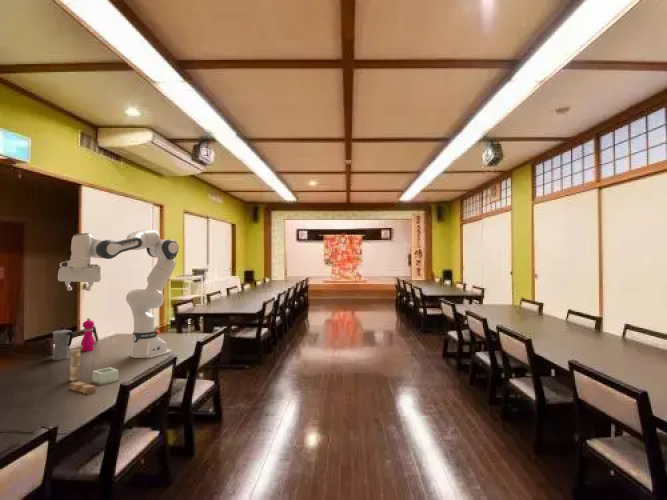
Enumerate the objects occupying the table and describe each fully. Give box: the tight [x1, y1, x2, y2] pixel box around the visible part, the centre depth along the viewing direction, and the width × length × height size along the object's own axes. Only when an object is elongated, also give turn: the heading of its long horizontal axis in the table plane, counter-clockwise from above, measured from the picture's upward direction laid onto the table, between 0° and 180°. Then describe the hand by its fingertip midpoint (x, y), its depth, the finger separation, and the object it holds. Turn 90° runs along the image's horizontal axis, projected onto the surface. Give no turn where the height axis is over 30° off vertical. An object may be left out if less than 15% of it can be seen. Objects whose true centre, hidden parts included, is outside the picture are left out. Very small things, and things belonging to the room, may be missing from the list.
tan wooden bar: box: [69, 380, 97, 395], centre depth 170 cm, size 14×3×3 cm, turn 63°
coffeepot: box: [51, 326, 74, 361], centre depth 223 cm, size 15×9×18 cm, turn 67°
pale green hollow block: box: [91, 366, 119, 386], centre depth 184 cm, size 8×8×5 cm
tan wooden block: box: [69, 349, 81, 382], centre depth 185 cm, size 3×3×14 cm
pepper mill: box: [80, 317, 96, 352], centre depth 243 cm, size 7×7×20 cm
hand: (78, 290), depth 202 cm, fingers open, 8 cm apart
